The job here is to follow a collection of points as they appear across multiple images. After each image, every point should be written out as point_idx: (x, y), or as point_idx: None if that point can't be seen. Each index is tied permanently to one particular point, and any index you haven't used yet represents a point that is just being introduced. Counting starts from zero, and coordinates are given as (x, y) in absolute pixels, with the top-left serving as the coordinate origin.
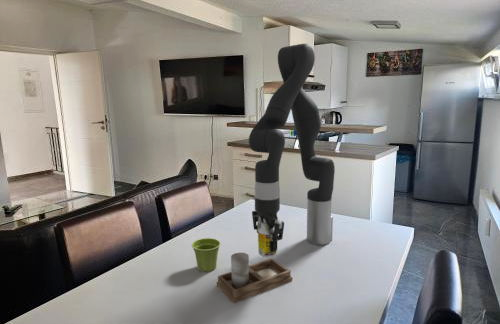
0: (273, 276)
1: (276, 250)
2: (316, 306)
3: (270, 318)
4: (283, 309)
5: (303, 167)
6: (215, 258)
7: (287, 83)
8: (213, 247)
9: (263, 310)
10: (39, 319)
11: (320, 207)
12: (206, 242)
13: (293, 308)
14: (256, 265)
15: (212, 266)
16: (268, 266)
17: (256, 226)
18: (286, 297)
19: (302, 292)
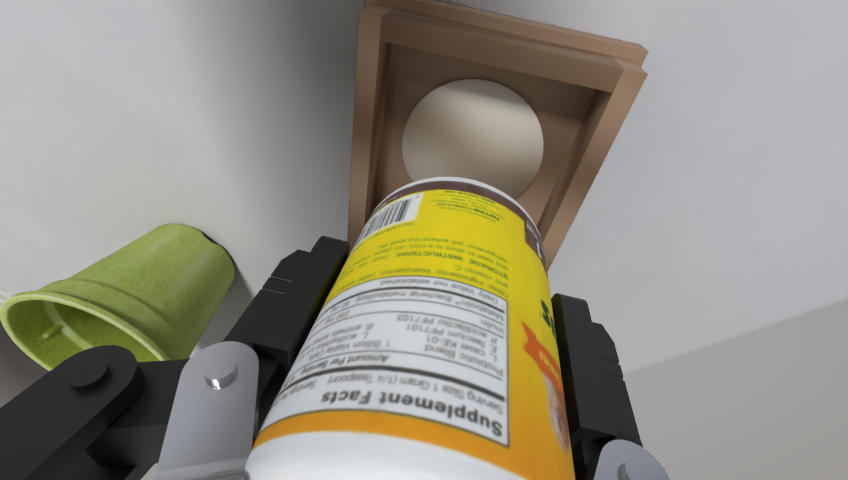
0: (564, 220)
1: (583, 306)
2: None
3: (678, 350)
4: (710, 293)
5: None
6: (195, 293)
7: None
8: (86, 272)
9: (624, 333)
10: None
11: None
12: (36, 302)
13: (762, 266)
14: (368, 176)
15: (223, 279)
16: (390, 58)
17: (132, 472)
18: (684, 219)
19: (776, 119)
